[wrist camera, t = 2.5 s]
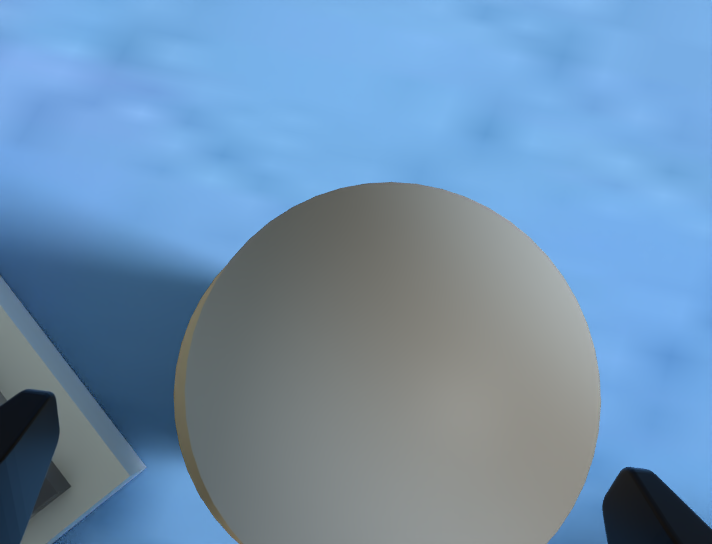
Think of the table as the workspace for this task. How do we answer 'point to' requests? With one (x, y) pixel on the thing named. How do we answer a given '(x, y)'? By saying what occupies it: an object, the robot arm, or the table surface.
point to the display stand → (62, 427)
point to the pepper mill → (388, 378)
